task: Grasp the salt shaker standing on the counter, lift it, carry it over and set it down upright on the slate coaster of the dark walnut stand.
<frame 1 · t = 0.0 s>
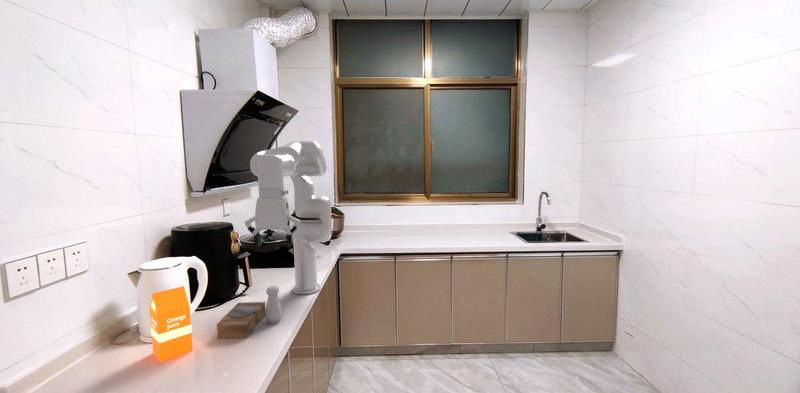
hand: (273, 246, 119), 31 cm above the countertop, tool pointing down, fingers open, 9 cm apart
walnut stand: (243, 325, 132), on the countertop
salt shaker: (274, 322, 135), on the countertop
orange juice: (173, 352, 114), on the countertop
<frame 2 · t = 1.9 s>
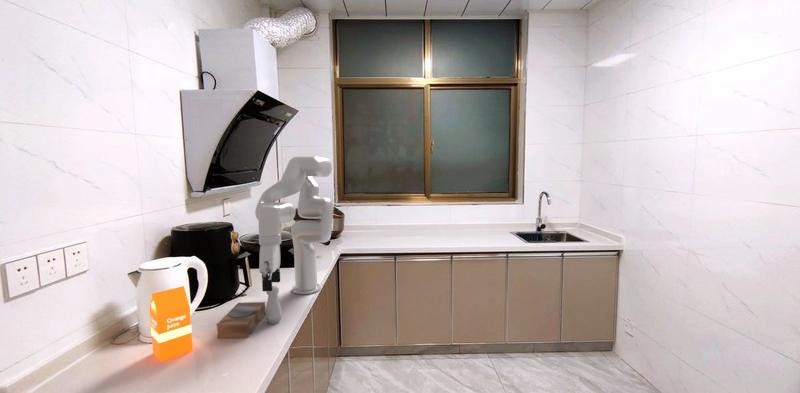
hand: (271, 286, 133), 14 cm above the countertop, tool pointing down, fingers open, 9 cm apart
nothing on the countertop moved.
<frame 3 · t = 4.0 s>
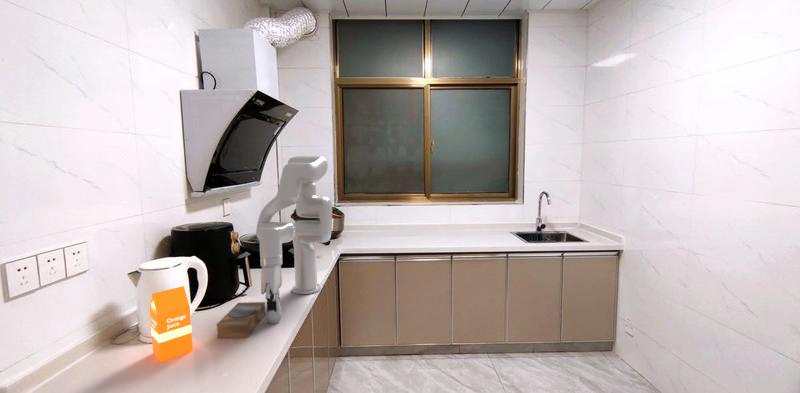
hand: (273, 309, 134), 5 cm above the countertop, tool pointing down, fingers closed on salt shaker, 3 cm apart
salt shaker: (274, 321, 135), on the countertop, touching gripper
everything else where it was.
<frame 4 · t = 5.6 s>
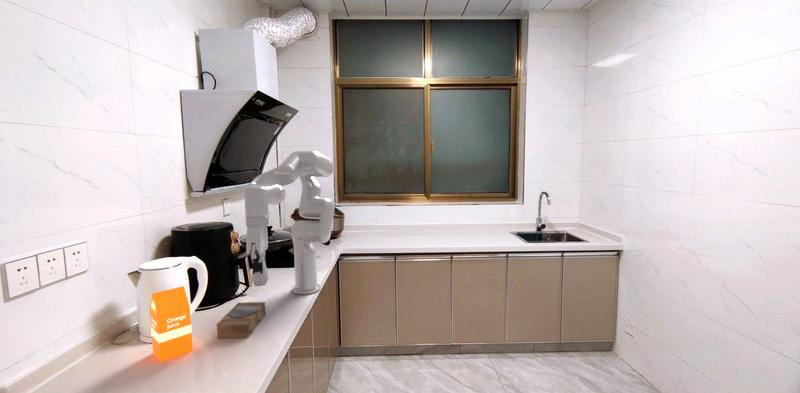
hand: (259, 271, 131), 19 cm above the countertop, tool pointing down, fingers closed on salt shaker, 3 cm apart
salt shaker: (260, 284, 132), point 14 cm above the countertop, touching gripper
everything else where it was.
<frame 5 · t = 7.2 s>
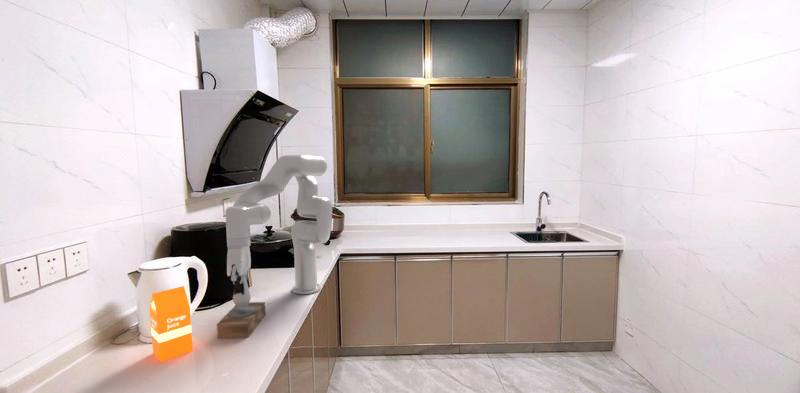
hand: (241, 292, 130), 12 cm above the countertop, tool pointing down, fingers closed on salt shaker, 3 cm apart
salt shaker: (242, 305, 131), point 7 cm above the countertop, touching gripper
everything else where it was.
when the fingers open (12 cm above the countertop, at t = 7.7 s): salt shaker stays where it is, resting on walnut stand.
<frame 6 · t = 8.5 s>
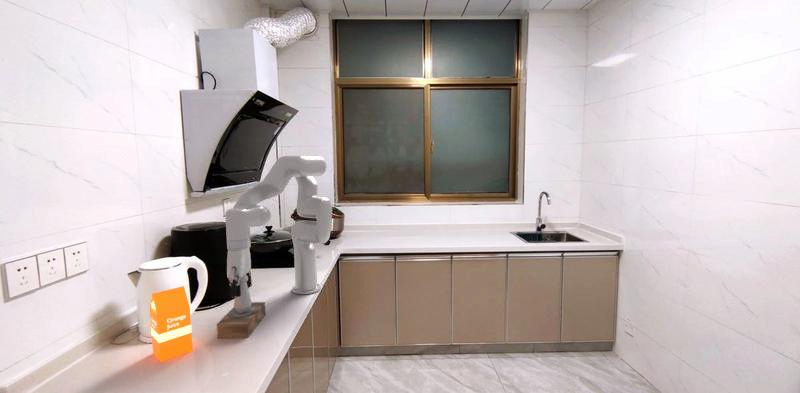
hand: (241, 291, 130), 13 cm above the countertop, tool pointing down, fingers open, 9 cm apart
salt shaker: (243, 311, 131), point 5 cm above the countertop, touching walnut stand
everything else where it was.
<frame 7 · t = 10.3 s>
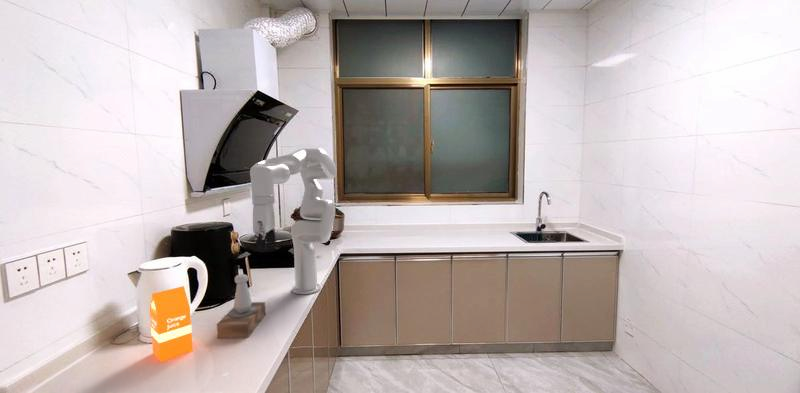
hand: (266, 246, 134), 27 cm above the countertop, tool pointing down, fingers open, 9 cm apart
nothing on the countertop moved.
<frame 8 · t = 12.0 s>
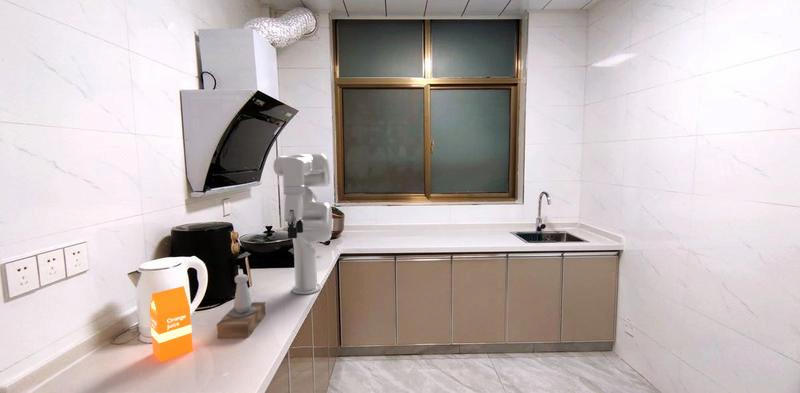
hand: (295, 235, 140), 30 cm above the countertop, tool pointing down, fingers open, 9 cm apart
nothing on the countertop moved.
at the end: salt shaker inside the target area on the walnut stand (0.3 cm from its centre), point 5.3 cm above the walnut stand's base; salt shaker tilted 0°; the gripper is holding nothing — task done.
